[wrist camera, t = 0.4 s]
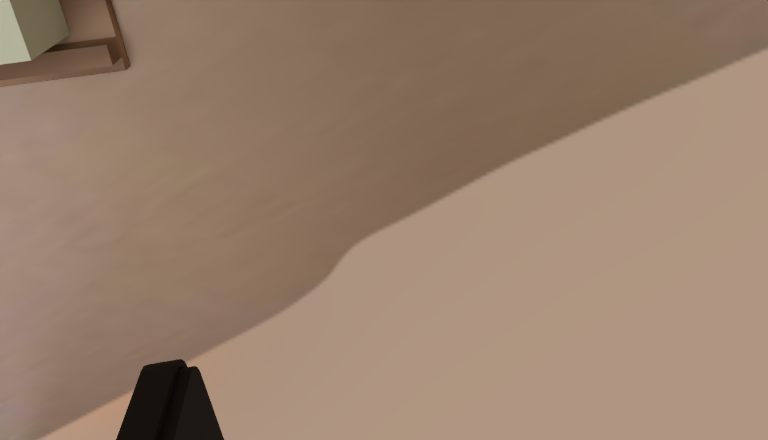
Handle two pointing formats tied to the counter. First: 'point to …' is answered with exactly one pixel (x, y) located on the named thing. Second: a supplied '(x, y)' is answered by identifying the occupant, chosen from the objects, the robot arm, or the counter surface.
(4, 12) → the block
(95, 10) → the chute
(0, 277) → the counter surface
